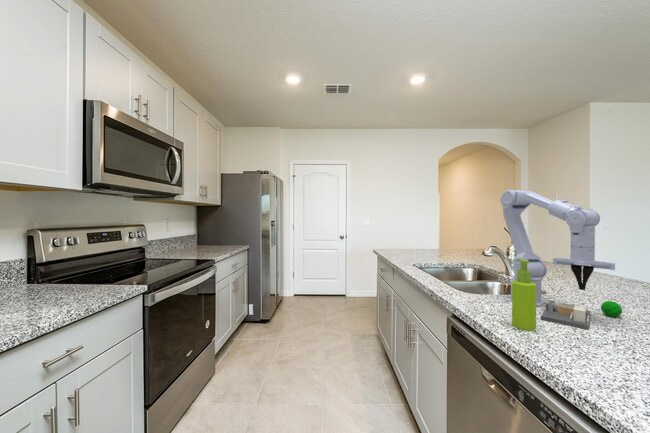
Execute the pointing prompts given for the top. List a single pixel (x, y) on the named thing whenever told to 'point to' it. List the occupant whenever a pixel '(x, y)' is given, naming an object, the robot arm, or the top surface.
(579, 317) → the latch
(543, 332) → the top surface
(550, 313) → the mount board
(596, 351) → the top surface
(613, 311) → the polyhedron
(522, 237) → the robot arm
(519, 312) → the soap dispenser
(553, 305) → the grey flat bar
